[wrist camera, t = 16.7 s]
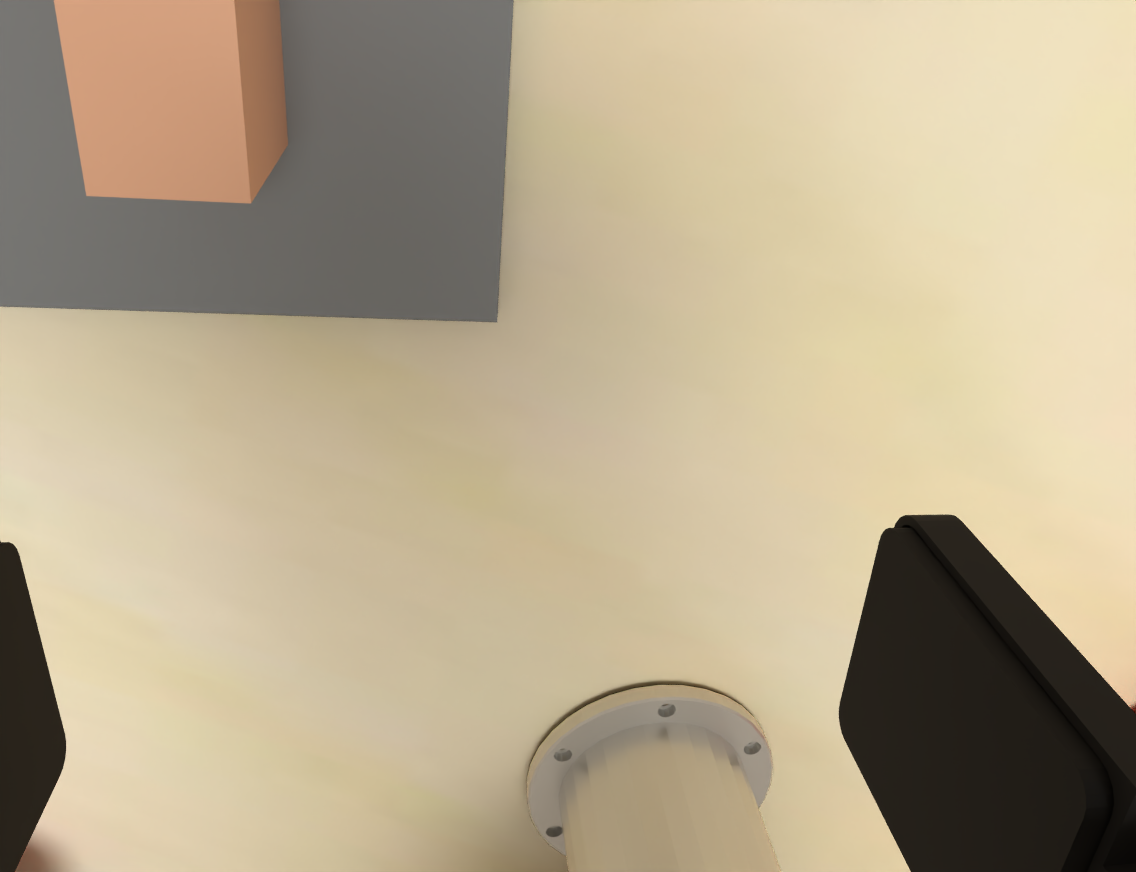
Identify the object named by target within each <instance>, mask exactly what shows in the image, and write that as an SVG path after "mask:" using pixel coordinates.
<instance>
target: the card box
mask: <svg viewBox="0 0 1136 872" xmlns="http://www.w3.org/2000/svg"><path fill="white" fill-rule="evenodd" d="M54 5H55V11H56V17H57V23H58V29H59V35H60V41H61V47H62V53H63V59H64V65H65V71H66V77H67V83H68V89H69V95H70V101H71V107H72V113H73V119H74V125H75V131H76V137H77V143H78V149H79V155H80V161H81V167H82V173H83V179H84V185H85V191H86V196H98V197H120V198H142V199H163V200H185V201H207V202H228V203H250V204H251V203H252V201H253V200H254V198H255V196H256V195H257V193H258V192H259V190H260V188H261V187H262V185H263V184H264V182H265V180H266V179H267V177H268V176H269V174H270V173H271V171H272V169H273V168H274V166H275V165H276V163H277V161H278V160H279V158H280V157H281V155H282V153H283V152H284V150H285V149H286V147H287V146H288V135H287V119H286V103H285V86H284V70H283V54H282V37H281V21H280V5H279V0H54Z"/></svg>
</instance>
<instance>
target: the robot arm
mask: <svg viewBox="0 0 1136 872" xmlns="http://www.w3.org/2000/svg"><path fill="white" fill-rule="evenodd" d="M839 721H840V727H841V731H842V734H843V737H844V739H845V741H846V743H847V745H848V747H849V749H850V751H851V753H852V755H853V757H854V759H855V761H856V763H857V765H858V767H859V769H860V771H861V773H862V775H863V777H864V779H865V781H866V783H867V785H868V787H869V789H870V791H871V793H872V795H873V797H874V799H875V801H876V803H877V805H878V807H879V809H880V811H881V813H882V815H883V817H884V819H885V821H886V823H887V825H888V827H889V829H890V831H891V833H892V835H893V837H894V839H895V841H896V843H897V845H898V847H899V849H900V851H901V853H902V855H903V857H904V859H905V861H906V863H907V865H908V867H909V869H910V871H911V872H1136V714H1135V713H1134V712H1133V711H1132V709H1131V708H1130V707H1129V706H1128V705H1127V704H1126V703H1125V702H1124V701H1123V699H1122V698H1121V697H1120V696H1119V695H1118V694H1117V693H1116V692H1115V691H1114V690H1113V688H1112V687H1111V686H1110V685H1109V684H1108V683H1107V682H1106V681H1105V680H1104V678H1103V677H1102V676H1101V675H1100V674H1099V673H1098V672H1097V671H1096V670H1095V668H1094V667H1093V666H1092V665H1091V664H1090V663H1089V662H1088V661H1087V660H1086V658H1085V657H1084V656H1083V655H1082V654H1081V653H1080V652H1079V651H1078V650H1077V649H1076V647H1075V646H1074V645H1073V644H1072V643H1071V642H1070V641H1069V640H1068V639H1067V637H1066V636H1065V635H1064V634H1063V633H1062V632H1061V631H1060V630H1059V629H1058V627H1057V626H1056V625H1055V624H1054V623H1053V622H1052V621H1051V620H1050V619H1049V617H1048V616H1047V615H1046V614H1045V613H1044V612H1043V611H1042V610H1041V609H1040V608H1039V606H1038V605H1037V604H1036V603H1035V602H1034V601H1033V600H1032V599H1031V598H1030V596H1029V595H1028V594H1027V593H1026V592H1025V591H1024V590H1023V589H1022V588H1021V586H1020V585H1019V584H1018V583H1017V582H1016V581H1015V580H1014V579H1013V578H1012V576H1011V575H1010V574H1009V573H1008V572H1007V571H1006V570H1005V569H1004V568H1003V567H1002V565H1001V564H1000V563H999V562H998V561H997V560H996V559H995V558H994V557H993V555H992V554H991V553H990V552H989V551H988V550H987V549H986V548H985V547H984V545H983V544H982V543H981V542H980V541H979V540H978V539H977V538H976V537H975V535H974V534H973V533H972V532H971V531H970V530H969V529H968V528H967V527H966V526H965V524H964V523H963V522H962V521H961V520H960V519H958V518H957V517H956V516H954V515H905V516H903V517H901V518H899V520H898V521H897V522H896V524H895V527H894V528H888V529H886V530H885V531H884V532H883V533H882V535H881V538H880V541H879V545H878V549H877V553H876V557H875V561H874V565H873V569H872V574H871V578H870V582H869V586H868V590H867V594H866V598H865V602H864V606H863V610H862V615H861V619H860V623H859V627H858V631H857V635H856V639H855V643H854V647H853V651H852V656H851V660H850V664H849V668H848V672H847V676H846V680H845V684H844V688H843V692H842V697H841V701H840V706H839ZM65 755H66V739H65V733H64V729H63V725H62V721H61V717H60V713H59V709H58V705H57V701H56V698H55V694H54V690H53V686H52V682H51V678H50V674H49V670H48V666H47V662H46V658H45V654H44V650H43V646H42V642H41V638H40V635H39V631H38V627H37V623H36V619H35V615H34V611H33V607H32V603H31V599H30V595H29V591H28V587H27V583H26V579H25V575H24V572H23V568H22V564H21V560H20V556H19V553H18V551H17V548H16V547H15V546H14V545H13V544H12V543H9V542H2V543H1V542H0V872H15V870H16V868H17V866H18V863H19V861H20V859H21V857H22V855H23V853H24V851H25V849H26V846H27V844H28V842H29V840H30V838H31V836H32V834H33V832H34V830H35V827H36V825H37V823H38V821H39V819H40V817H41V815H42V813H43V811H44V808H45V806H46V804H47V802H48V800H49V798H50V796H51V794H52V791H53V789H54V787H55V785H56V783H57V781H58V779H59V777H60V774H61V772H62V769H63V765H64V761H65ZM772 772H773V763H772V755H771V750H770V748H769V745H768V743H767V740H766V737H765V735H764V732H763V730H762V729H761V727H760V726H759V724H758V722H757V721H756V719H755V718H754V717H753V716H752V715H751V714H750V713H749V712H748V711H747V710H746V709H745V708H744V707H743V706H742V705H740V704H738V703H736V702H735V701H733V700H731V699H730V698H728V697H726V696H724V695H721V694H718V693H716V692H713V691H710V690H707V689H703V688H697V687H691V686H685V685H654V686H647V687H639V688H633V689H629V690H626V691H622V692H619V693H615V694H611V695H609V696H607V697H604V698H602V699H600V700H597V701H595V702H593V703H590V704H588V705H586V706H585V707H583V708H582V709H580V710H578V711H577V712H575V713H574V714H572V715H570V716H569V717H567V718H566V719H565V720H564V721H563V722H562V723H561V724H559V725H558V726H557V727H556V728H555V729H554V730H553V731H551V733H550V734H549V735H548V736H547V738H546V739H545V740H544V741H543V743H542V744H541V745H540V746H539V748H538V750H537V752H536V754H535V756H534V758H533V760H532V762H531V764H530V768H529V772H528V777H527V800H528V807H529V812H530V817H531V820H532V822H533V824H534V826H535V828H536V830H537V832H538V833H539V834H540V835H541V836H542V838H543V839H544V840H545V841H546V842H547V843H548V844H549V845H550V846H551V847H553V848H554V849H556V850H557V851H558V852H560V853H561V854H563V855H565V856H566V858H567V866H568V872H781V870H780V867H779V864H778V861H777V859H776V856H775V853H774V850H773V847H772V845H771V842H770V839H769V836H768V833H767V831H766V828H765V825H764V822H763V820H762V817H761V814H760V811H759V807H760V806H761V804H762V803H763V801H764V800H765V797H766V795H767V792H768V790H769V787H770V785H771V779H772Z"/></svg>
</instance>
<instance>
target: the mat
mask: <svg viewBox="0 0 1136 872" xmlns="http://www.w3.org/2000/svg"><path fill="white" fill-rule="evenodd" d="M279 5H280V21H281V37H282V54H283V70H284V86H285V103H286V119H287V135H288V146H287V147H286V149H285V150H284V152H283V153H282V155H281V157H280V158H279V160H278V161H277V163H276V165H275V166H274V168H273V169H272V171H271V173H270V174H269V176H268V177H267V179H266V180H265V182H264V184H263V185H262V187H261V188H260V190H259V192H258V193H257V195H256V196H255V198H254V200H253V201H252V203H251V204H250V203H228V202H207V201H185V200H163V199H142V198H120V197H98V196H86V191H85V185H84V179H83V173H82V167H81V161H80V155H79V149H78V143H77V137H76V131H75V125H74V119H73V113H72V107H71V101H70V95H69V89H68V83H67V77H66V71H65V65H64V59H63V53H62V47H61V41H60V35H59V29H58V23H57V17H56V11H55V5H54V0H0V306H3V307H34V308H66V309H97V310H129V311H160V312H192V313H223V314H255V315H286V316H317V317H349V318H380V319H412V320H443V321H475V322H497V314H498V295H499V275H500V255H501V236H502V216H503V196H504V176H505V157H506V137H507V117H508V98H509V78H510V58H511V38H512V19H513V0H279Z"/></svg>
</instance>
